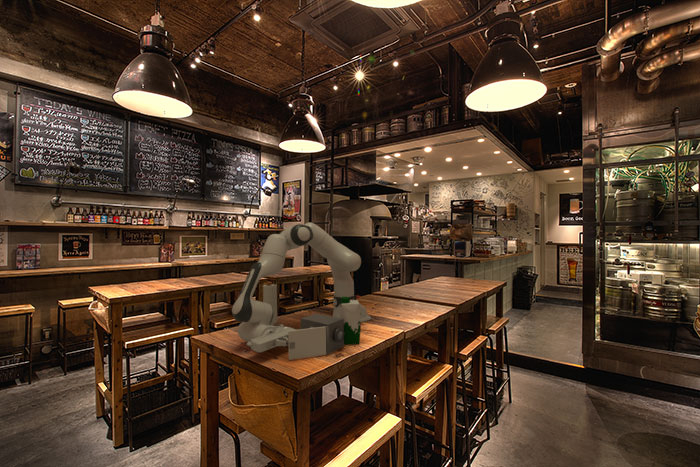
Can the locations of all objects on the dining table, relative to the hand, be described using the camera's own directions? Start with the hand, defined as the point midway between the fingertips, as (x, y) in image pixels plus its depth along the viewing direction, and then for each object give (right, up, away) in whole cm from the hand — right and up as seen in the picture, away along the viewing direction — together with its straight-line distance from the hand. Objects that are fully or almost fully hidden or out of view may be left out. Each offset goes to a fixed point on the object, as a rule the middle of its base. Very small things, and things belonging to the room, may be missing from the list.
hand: (287, 343), depth 123 cm
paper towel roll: (-19, -6, +47) cm, 51 cm away
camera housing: (+13, -6, +12) cm, 19 cm away
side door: (+8, -5, 0) cm, 10 cm away
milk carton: (+25, -6, +18) cm, 31 cm away
